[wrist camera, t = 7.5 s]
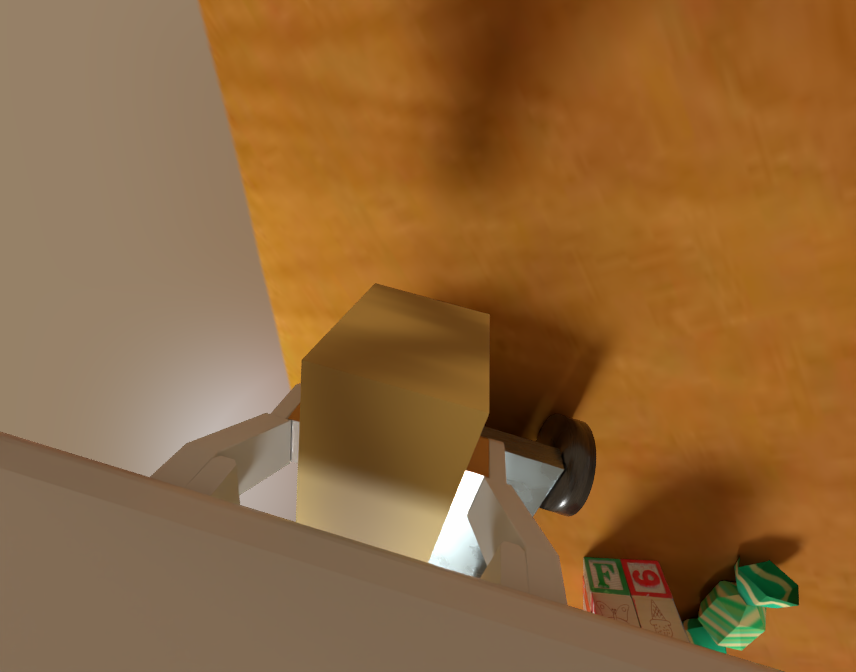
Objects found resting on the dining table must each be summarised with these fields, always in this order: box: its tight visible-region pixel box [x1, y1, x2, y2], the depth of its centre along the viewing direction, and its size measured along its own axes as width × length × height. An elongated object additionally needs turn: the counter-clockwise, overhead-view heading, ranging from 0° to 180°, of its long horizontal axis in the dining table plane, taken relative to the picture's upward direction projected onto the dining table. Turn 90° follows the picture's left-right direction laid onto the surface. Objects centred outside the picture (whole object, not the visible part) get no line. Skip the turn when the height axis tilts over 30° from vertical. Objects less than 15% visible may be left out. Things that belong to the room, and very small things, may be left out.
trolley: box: [428, 414, 596, 578], centre depth 18 cm, size 16×12×20 cm
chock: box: [296, 283, 490, 562], centre depth 11 cm, size 4×8×5 cm, turn 168°
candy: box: [682, 557, 799, 654], centre depth 28 cm, size 12×3×4 cm
